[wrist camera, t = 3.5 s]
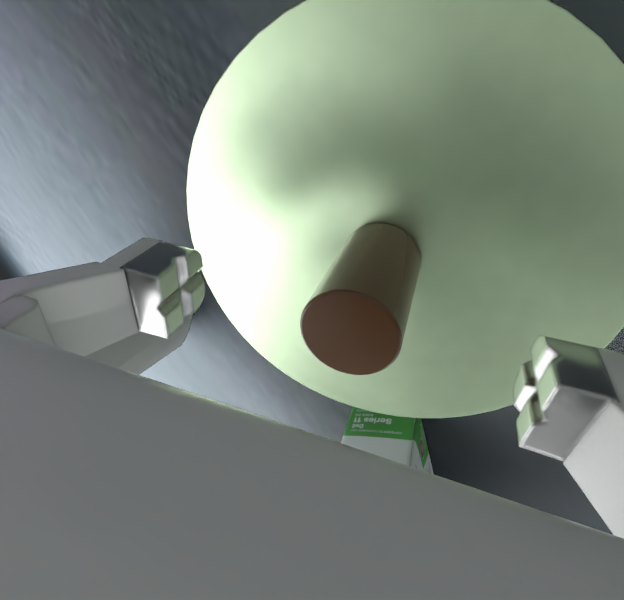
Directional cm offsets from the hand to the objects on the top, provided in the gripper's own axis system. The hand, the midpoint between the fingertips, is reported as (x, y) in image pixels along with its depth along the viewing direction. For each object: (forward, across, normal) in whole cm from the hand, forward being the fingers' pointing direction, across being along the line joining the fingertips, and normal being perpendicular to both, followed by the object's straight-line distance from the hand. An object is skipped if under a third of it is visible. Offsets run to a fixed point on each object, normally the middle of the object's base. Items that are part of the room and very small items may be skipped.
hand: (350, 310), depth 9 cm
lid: (+4, 0, 0) cm, 4 cm away
